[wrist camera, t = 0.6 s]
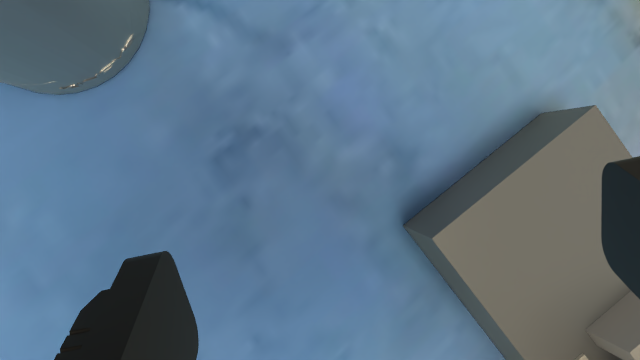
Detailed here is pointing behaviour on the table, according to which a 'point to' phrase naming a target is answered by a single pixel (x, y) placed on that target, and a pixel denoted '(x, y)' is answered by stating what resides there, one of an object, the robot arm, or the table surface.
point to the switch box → (537, 243)
